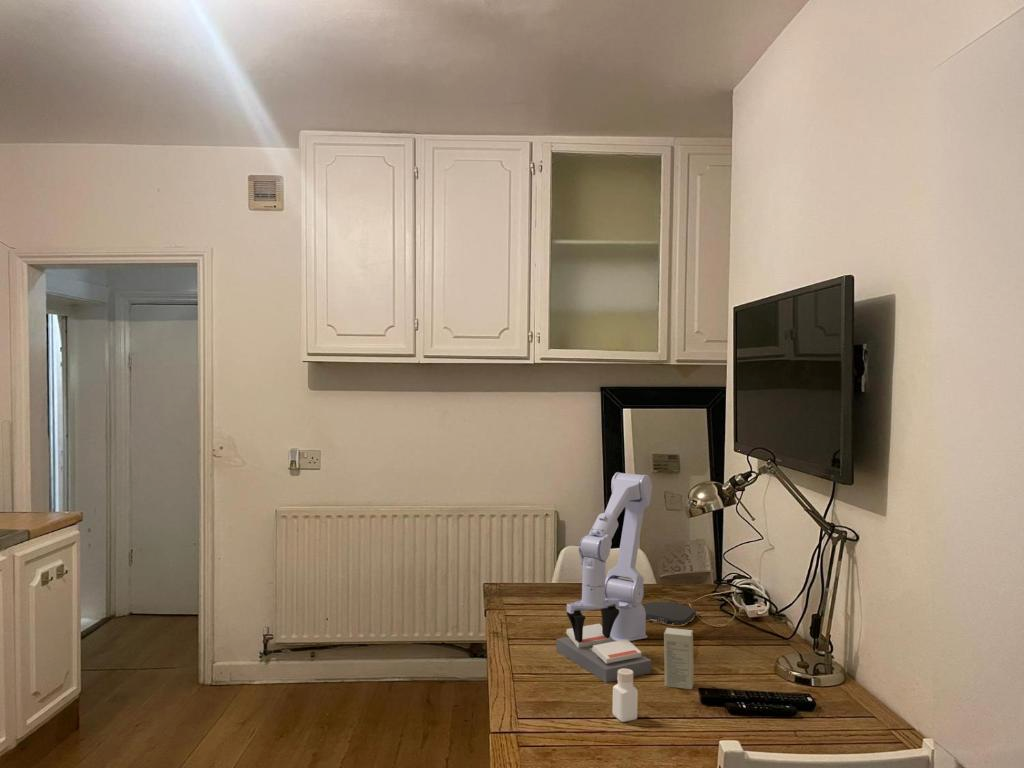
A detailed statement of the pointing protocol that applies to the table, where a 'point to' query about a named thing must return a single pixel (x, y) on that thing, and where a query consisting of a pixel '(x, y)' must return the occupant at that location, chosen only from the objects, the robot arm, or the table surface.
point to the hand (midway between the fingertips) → (592, 638)
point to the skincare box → (678, 658)
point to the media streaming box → (669, 612)
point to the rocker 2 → (616, 651)
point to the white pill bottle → (625, 696)
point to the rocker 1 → (589, 636)
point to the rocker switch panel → (601, 661)
